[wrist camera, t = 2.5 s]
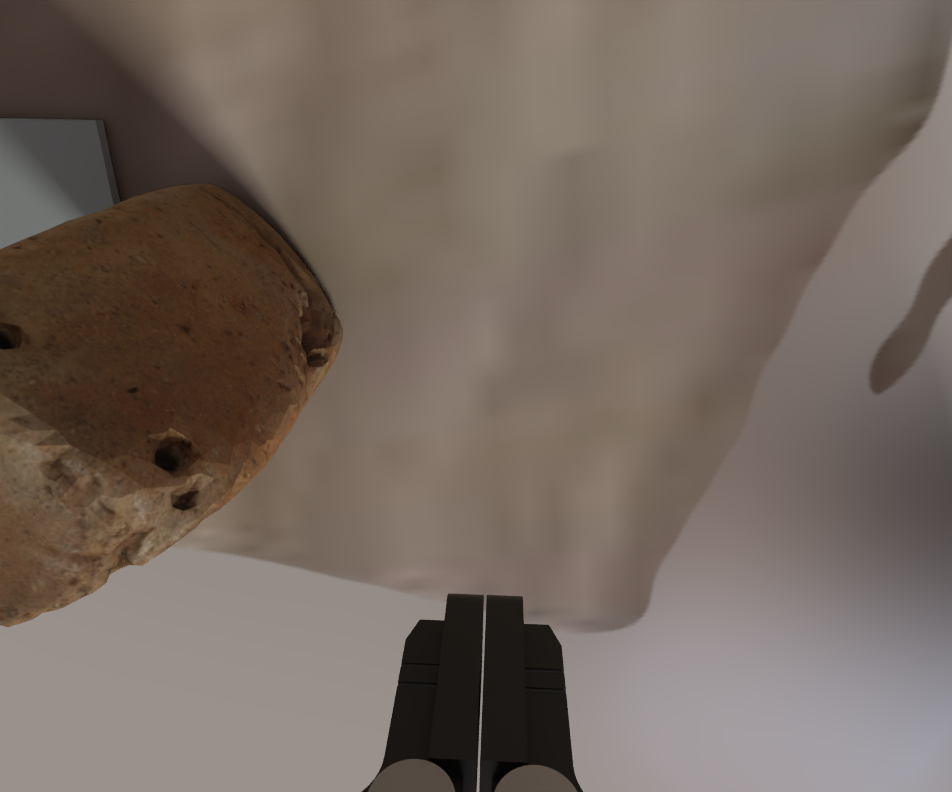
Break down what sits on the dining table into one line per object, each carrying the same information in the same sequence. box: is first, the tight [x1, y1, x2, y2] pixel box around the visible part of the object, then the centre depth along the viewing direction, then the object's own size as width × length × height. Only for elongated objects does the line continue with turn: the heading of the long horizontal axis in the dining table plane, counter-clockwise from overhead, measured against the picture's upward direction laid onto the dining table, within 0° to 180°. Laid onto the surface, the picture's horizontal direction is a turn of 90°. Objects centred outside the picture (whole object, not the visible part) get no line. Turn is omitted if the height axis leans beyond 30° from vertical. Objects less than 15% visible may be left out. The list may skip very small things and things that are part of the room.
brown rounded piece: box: [0, 184, 343, 627], centre depth 25 cm, size 11×8×20 cm
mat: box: [0, 118, 120, 249], centre depth 34 cm, size 15×13×1 cm
